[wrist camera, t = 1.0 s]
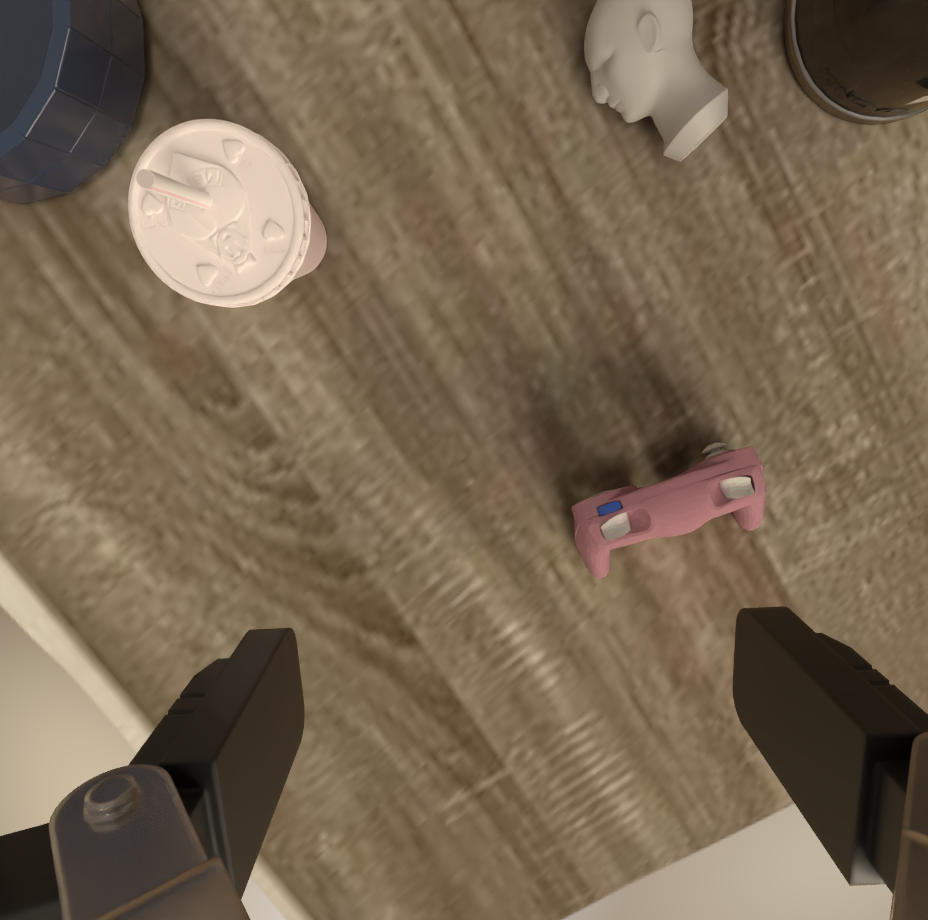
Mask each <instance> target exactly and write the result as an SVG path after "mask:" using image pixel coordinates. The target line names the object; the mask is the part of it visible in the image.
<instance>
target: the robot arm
mask: <svg viewBox="0 0 928 920" xmlns="http://www.w3.org/2000/svg"><path fill="white" fill-rule="evenodd" d="M784 35H785V44H786V49H787V54H788V58H789V61H790V65H791V67H792V70H793V72H794V74H795V76H796V78H797V80H798V82H799V84H800V85H801V87H802V88H803V89H804V91H805V92H806V93H807V95H808V96H809V97H810V98H811V99H812V100H813V101H814V102H815V103H816V104H817V105H818V106H820V107H821V108H822V109H824V110H825V111H827V112H828V113H830V114H832V115H834V116H836V117H838V118H841V119H843V120H846V121H850V122H854V123H860V124H884V123H891V122H895V121H899V120H902V119H905V118H908V117H911V116H913V115H915V114H918V113H920V112H923V111H925V110H927V109H928V0H787V1H786V8H785V18H784ZM733 698H734V704H735V708H736V711H737V715H738V717H739V719H740V722H741V724H742V725H743V727H744V728H745V730H746V731H747V733H748V734H749V736H750V737H751V739H752V740H753V742H754V743H755V745H756V746H757V748H758V749H759V751H760V752H761V754H762V755H763V757H764V758H765V760H766V761H767V763H768V764H769V766H770V767H771V769H772V770H773V772H774V773H775V774H776V776H777V777H778V779H779V780H780V782H781V783H782V785H783V786H784V788H785V789H786V791H787V792H788V794H789V795H790V797H791V798H792V800H793V801H794V803H795V804H796V806H797V807H798V809H799V810H800V812H801V813H802V815H803V816H804V818H805V819H806V821H807V822H808V824H809V825H810V827H811V828H812V830H813V831H814V833H815V834H816V836H817V837H818V839H819V840H820V841H821V843H822V844H823V846H824V848H825V849H826V850H827V852H828V853H829V855H830V856H831V858H832V859H833V861H834V862H835V864H836V865H837V867H838V868H839V870H840V871H841V873H842V874H843V876H844V877H845V879H846V880H847V882H848V883H849V885H850V886H852V885H876V884H886V885H887V887H888V888H889V889H890V891H891V892H892V893H893V899H892V906H891V914H890V920H928V714H926V713H925V712H924V711H923V710H922V709H921V708H920V707H918V706H917V705H916V704H915V703H914V702H913V701H912V700H910V699H909V698H908V697H907V696H906V695H905V694H904V693H902V692H901V691H900V690H899V689H898V688H897V687H896V686H894V685H890V684H889V680H888V679H886V678H885V677H884V676H883V675H882V674H881V673H879V672H878V671H877V670H876V669H872V666H871V665H870V664H869V663H868V662H867V661H866V660H865V659H863V658H862V657H861V656H860V655H859V654H858V653H857V652H855V651H854V650H853V649H852V648H851V647H849V646H847V645H845V644H843V643H841V642H839V641H837V640H835V639H833V638H831V637H829V636H827V635H825V634H823V633H815V632H814V631H813V630H812V629H811V628H810V627H809V626H807V625H806V624H805V623H804V622H803V621H802V620H801V619H800V618H799V617H798V616H797V615H796V614H794V613H793V612H792V611H791V610H790V609H789V608H787V607H763V608H743V609H741V610H740V611H739V613H738V615H737V619H736V632H735V651H734V670H733ZM303 728H304V700H303V691H302V683H301V675H300V666H299V658H298V650H297V642H296V637H295V633H294V631H293V629H292V628H278V629H256V630H249V631H248V632H247V633H246V634H245V636H244V637H243V639H242V640H241V642H240V643H239V645H238V646H237V648H236V649H235V651H234V652H233V654H232V655H231V657H230V658H226V659H217V660H216V661H214V662H213V663H212V664H210V665H209V666H207V667H206V668H205V669H203V670H202V671H200V672H199V673H197V674H196V675H195V676H194V677H193V678H192V680H191V681H190V682H189V684H188V685H187V686H186V688H185V689H184V690H183V692H182V693H181V695H180V699H177V700H176V701H175V703H174V704H173V705H172V707H171V708H170V709H169V711H168V715H165V716H164V718H163V719H162V720H161V722H160V723H159V724H158V726H157V727H156V728H155V730H154V731H153V732H152V734H151V735H150V737H149V738H148V739H147V741H146V742H145V743H144V745H143V746H142V747H141V749H140V750H139V751H138V753H137V754H136V756H135V757H134V758H133V760H132V761H131V762H130V764H129V765H128V766H124V767H120V768H116V769H113V770H110V771H107V772H105V773H102V774H100V775H98V776H96V777H94V778H92V779H90V780H88V781H87V782H85V783H84V784H82V785H80V786H79V787H77V788H76V789H75V790H73V791H72V792H71V793H70V794H68V795H67V796H66V797H65V798H64V799H63V800H62V801H61V802H60V804H59V805H58V806H57V807H56V809H55V810H54V812H53V814H52V816H51V818H50V822H49V823H47V824H44V825H41V826H37V827H33V828H29V829H25V830H22V831H18V832H14V833H11V834H6V835H3V836H0V920H250V918H249V916H248V914H247V912H246V909H245V907H244V905H243V903H242V901H241V898H242V896H243V893H244V891H245V888H246V885H247V883H248V880H249V877H250V875H251V872H252V869H253V867H254V864H255V862H256V859H257V856H258V854H259V851H260V848H261V846H262V843H263V840H264V838H265V835H266V832H267V830H268V827H269V825H270V822H271V819H272V817H273V814H274V811H275V809H276V806H277V803H278V801H279V798H280V795H281V793H282V790H283V787H284V785H285V782H286V780H287V777H288V774H289V772H290V769H291V766H292V764H293V761H294V758H295V756H296V753H297V750H298V748H299V745H300V742H301V739H302V734H303Z"/></svg>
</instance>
